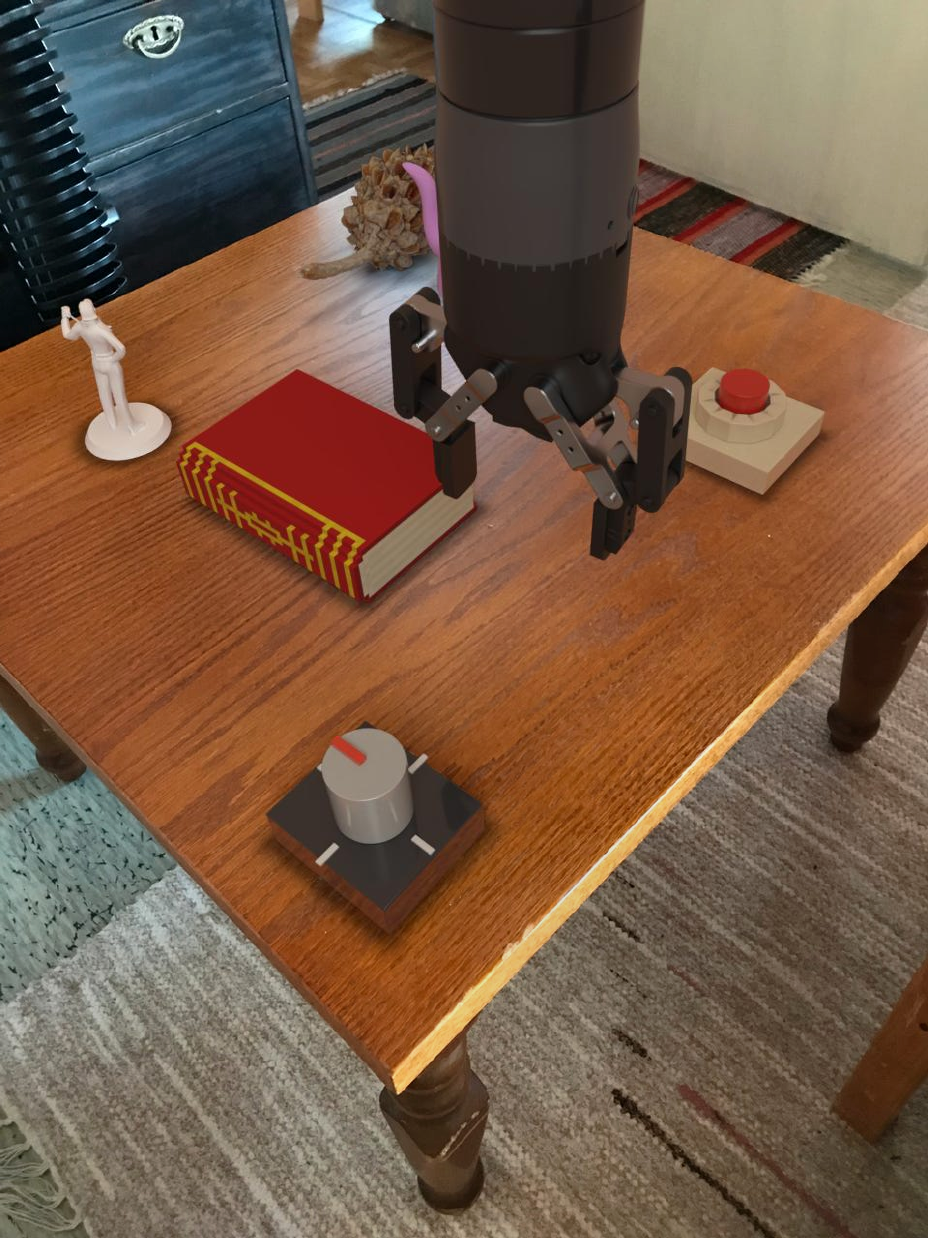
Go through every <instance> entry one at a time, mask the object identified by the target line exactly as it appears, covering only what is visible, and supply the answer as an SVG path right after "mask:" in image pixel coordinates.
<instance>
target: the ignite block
mask: <svg viewBox="0 0 928 1238" xmlns="http://www.w3.org/2000/svg"><path fill="white" fill-rule="evenodd" d="M725 373H727V372H726V371H724V370H721V369H719V368H716V367H715V366H712V367H710V368H709V369H708V370H707V371H706V372H704V373H703V374H702V375H701V376H700V377H698V379H697V380H696V381H694V382H693V383H692V394H691V405H690V416H689V428H688V439H687V450H686V461H685V462H689V463H691V464H693V465H694V466H697V467H699V468H701V469H703V470H706V471H708V472H710V473H712V474H715V475H717V476H719V477H722V478H724V479H726V480H728V481H731V482H733V483H735V484H736V485H740V486H741V487H744V488H746V489H748V490H751V491H752V492H755V493H757V494H759V495H762V496H763V495H764V494H765V493H766V492H767V491H768V490H769V489H770V488H771V487H772V485H774V483H775V482H776V481H777V480H778V479H779V478H781V476H782V475H783V474H784V473H785V472H786V470H787V469H788V468H789V467H790V466H791V465H792V464H794V462H795V460H797V459H798V457H800V455H801V454H802V453H803V452H804V451H805V450H806V449H807V448H808V447H809V446H810V445H811V443H812V442H813V441H814V440H815V439H816V438H817V437H818V436H819V435H820V432H821V428H822V425H823V421H824V418H825V415H826V411H824V410H822V409H819V408H817V407H814V406H812V405H810V404H806V403H805V402H802V401H799V400H796V399H794V398H792V397H789V396H787V395H786V392H785V391H784V390H783V389H782V388H781V387H780V386H779V385H778V384H777V383H776V382H775V381H773V380H772V379H769V378H768V380H769V382H770V389H769V393H768V397H767V402H766V406H765V408H764V409H763V410H762V411H761V412H759V413H755V414H752V415H744V414H734V413H732V412H729V411H727V410H725V409H722V408H721V407H720V405H719V403H718V394H719V388H720V383H721V378H722V377H723V375H724V374H725Z"/></svg>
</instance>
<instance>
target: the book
mask: <svg viewBox="0 0 928 1238" xmlns="http://www.w3.org/2000/svg"><path fill="white" fill-rule="evenodd" d="M181 447H182V451H180V452H179V453H178V456H179V459H177V460H176V461H175V464H176V466H177V470H178V473H179V476H180V479H181V481H182V484H183V487H184V490H185V493H186V495H187V496H189V497H190V498H193V499H194V500H195V501H197V502H199V503H200V504H202V505H203V506H205V507H207V508H209V510H212V511H213V512H215V513H216V514H218V515H220V516H222V517H223V518H224V519H226V520H227V521H229V522H231V523H233V524H234V525H235V526H237V527H239V528H240V529H242V530H243V531H245V532H246V533H248V534H250V535H252V536H253V537H255V538H256V539H258V540H260V541H261V542H263V543H265V544H266V545H268V546H270V547H271V548H273V549H275V550H276V551H278V552H279V553H281V554H282V555H284V556H286V557H287V558H289V559H291V560H292V561H294V562H295V563H297V564H298V565H301V566H302V567H304V568H305V569H306V570H308V571H310V572H311V573H314V574H315V575H316V576H317V577H320V578H321V579H323V580H324V581H326V582H327V583H329V584H331V585H332V586H334V587H335V588H337V589H339V590H340V591H342V592H344V593H345V594H347V595H348V596H350V597H351V598H354V599H355V600H356V601H358V602H361V601H363V602H364V603H365V602H369V603H371V602H372V601H373V600H375V599H376V598H377V597H378V596H379V595H381V594H382V593H383V592H384V591H385V590H386V589H387V588H389V587H390V586H391V585H392V584H393V583H395V581H397V580H398V579H399V578H400V577H401V576H402V575H404V573H406V572H407V571H409V569H411V567H413V566H414V565H415V564H416V563H417V562H418V561H420V560H421V559H422V558H423V557H424V556H425V555H426V554H427V553H429V552H430V551H432V549H434V548H435V547H436V545H438V544H439V543H440V542H442V540H443V539H445V538H446V537H447V536H448V535H450V533H451V532H453V531H454V530H455V529H456V528H457V527H459V526H460V525H461V524H462V523H463V522H464V521H465V520H466V519H467V518H469V517H470V516H471V515H472V514H473V513H475V512H476V511H477V510H478V503H476V502H474V491H473V484H472V485H471V486H470V487H469V488H468V489H467V490H466V491H465V492H464V494H463V495H462V496H461V497H460V498H459V499H453V498H451V497H449V496H446V495H444V494H443V487H442V483H440V482H439V481H438V479H437V476H436V474H435V464H434V453H433V441H432V438H431V437H430V436H429V435H428V434H427V432H426V431H424V430H422V429H420V428H419V427H416V426H414V425H412V424H410V423H408V422H406V421H404V420H402V419H399V418H398V417H397V416H394V415H392V414H390V413H388V412H385V411H383V410H382V409H380V408H378V407H376V406H373V405H372V404H370V403H367V402H366V401H363V400H362V399H360V398H357V397H355V396H353V395H351V394H349V393H347V392H345V391H343V390H341V389H339V388H337V387H335V386H333V385H331V384H329V383H328V382H325V381H323V380H321V379H319V378H317V377H315V376H313V375H311V374H309V373H307V372H305V371H303V370H301V369H299V368H296V369H295V370H293V371H291V372H290V373H288V374H287V375H286V376H284V377H283V378H280V379H279V380H278V381H276V382H275V383H274V384H272V385H270V386H269V387H267V388H266V389H264V390H263V391H261V392H260V393H259V394H257V395H255V396H253V397H252V398H251V399H249V400H248V401H246V402H245V403H243V404H242V405H240V406H239V407H238V408H236V409H234V410H233V411H231V412H230V413H228V414H227V415H226V416H224V417H222V418H220V420H218V421H217V422H215V423H214V424H212V425H210V426H209V427H207V428H206V429H205V430H202V431H201V432H200V433H199V434H197V435H195V436H194V437H193V438H191V439H190V440H188V441H186V442H185V443H183V444H182V445H181Z"/></svg>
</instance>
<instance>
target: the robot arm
mask: <svg viewBox="0 0 928 1238" xmlns="http://www.w3.org/2000/svg"><path fill="white" fill-rule="evenodd" d="M430 4H431V21H432V37H433V38H432V39H433V56H434V70H435V71H434V72H435V85H436V86H435V87H436V88H435V95H436V97H435V98H436V100H435V101H436V102H435V120H434V132H433V146H434V170H435V185H436V200H437V215H438V233H439V248H440V263H441V279H442V294H443V299H441V296H440V294H439V293H438V292H437V291H436V290H435V289H434V288H433V287H430V286H422V288H420V289H419V290H417V292H415V293H414V294H413V295H412V296H411V297H409V298H408V299H407V300H405V301H404V302H403V303H402V304H401V305H400V306H399V307H397V308H396V309H395V310H393V311H392V312H391V313H390V314H389V316H388V327H389V330H388V331H389V346H390V357H391V358H390V360H391V361H390V362H391V378H392V381H391V382H392V395H393V397H392V399H393V407H394V410H395V412H396V413H397V415H399V416H400V417H401V418H402V419H404V420H412V419H413V418H416V420H418V421H420V422H422V423H423V424H424V429H425V432H426V433H427V434H428V435H429V436H430V437H431V438H432V441H433V453H434V464H435V474H436V476H437V479H438V481H439V482H440V483H442V487H443V494H444V495H446V496H449V497H451V498H453V499H459V498H460V497H461V496H462V495H463V494H464V492H465V491H466V490H467V489H468V488H469V487H470V486H471V485H472V486H473V484H474V483H475V481H476V479H477V477H478V461H477V459H478V458H477V438H476V437H477V435H476V421H473V420H470V419H468V418H469V417H471V415H472V414H473V413H474V412H475V411H476V410H477V409H478V408H479V407H480V406H481V408H483V410H485V411H486V412H487V413H488V414H489V415H490V416H491V421H492V422H493V423H496V424H498V425H502V426H504V427H507V428H516V429H521V430H523V431H525V432H527V434H529V435H531V436H533V437H535V438H536V439H539V440H541V441H544V442H547V443H550V444H551V443H555V445H556V448H558V450H559V451H560V453H561V455H562V457H563V458H564V460H565V462H566V463H567V465H568V466H569V468H570V469H571V470H572V471H573V472H581V473H582V474H583V476H584V477H585V478H586V481H587V482H588V484H589V485H590V487H591V489H592V490H593V492H594V494H595V496H597V498H596V499H595V500H594V502H593V505H592V506H593V508H592V520H591V532H590V533H591V534H590V547H589V555H590V556H591V557H593V558H595V559H599V560H600V561H603V562H605V561H606V560H607V559H608V557H609V556H610V555H611V554H612V555H617V554H618V553H619V552H620V550H621V549H622V547H623V546H624V545H625V543H627V541H628V540H629V538H630V537H631V536H632V535H633V533H634V532H635V526H636V523H635V522H636V518H637V508H638V507H639V508H640V510H642V511H644V512H646V513H648V514H656V513H657V512H659V511H660V510H661V508H662V507H663V505H664V504H665V502H666V500H667V499H668V498H669V496H670V495H671V493H672V492H673V491H674V489H675V488H676V487H677V486H678V485H680V483H681V482H682V480H683V479H684V477H685V470H686V462H687V461H686V450H687V439H688V428H689V416H690V405H691V394H692V385H693V378H692V375H691V374H690V372H689V371H687V369H685V368H683V367H681V366H672V367H670V368H668V369H667V371H666V372H665V373H664V374H663V375H657V374H653V373H650V372H646V371H642V370H638V369H635V368H630V367H629V364H628V362H627V359H626V356H625V354H624V351H623V348H622V343H621V340H622V339H621V338H622V333H623V327H624V323H625V317H626V312H627V300H628V299H627V298H628V289H629V279H630V265H631V256H632V245H633V235H634V225H635V215H636V213H637V210H638V205H639V200H640V199H639V198H640V187H639V183H638V178H639V176H638V175H639V168H640V158H641V157H640V156H641V155H640V154H641V125H640V106H639V105H640V102H639V101H640V99H639V92H640V77H641V67H642V53H643V43H644V31H645V22H646V21H645V19H646V8H647V7H646V6H647V0H431V2H430ZM442 305H443V306H442ZM442 344H444V346H445V349H446V351H447V353H448V354H449V356H450V357H451V359H452V360H453V362H454V364H455V365H456V367H457V368H458V370H459V372H460V374H461V375H462V377H463V378H464V380H465V382H463V384H461V385H460V387H459V388H458V389H457V390H456V391H455V392H453V394H452V395H451V394H449V393H448V392H446V391H445V390H443V389H442V388H443V374H442V372H443V369H442V368H443V367H442V364H443V363H442ZM616 398H617V399H620V400H621V401H622V402H623V403H624V404H625V405H626V407H627V410H628V412H629V414H628V415H629V418H630V420H629V422H628V419H627V417H626V415H625V414H624V412H623V411H622V409H621V406H620V405H619V403H618V401H617V399H616ZM592 418H593V422H594V428H593V430H592V432H591V433H590V434H589V435H588V436H587V437H586V436H585V435H584V433H583V431H582V430H581V428H582V427H583V426H584V425H586V424H587V423H588V422H589V421H590V420H591V419H592ZM629 427H630V429H632V430H634V431H637V449H636V448H635V445H634V444H633V442H632V441H631V439H630V438H629ZM608 458H609V459H608ZM609 460H610V462H611V463H612V465H613V467H614V469H613V468H612V466H611V464H610V462H609Z"/></svg>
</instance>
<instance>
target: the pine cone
mask: <svg viewBox="0 0 928 1238" xmlns="http://www.w3.org/2000/svg"><path fill="white" fill-rule="evenodd" d="M422 144H423V145H422V146H419V147H417V149H415V150H413V152H412V151H411V147H410V145H409V143H408V144H406V147H405V150H403V151H402V149H401V147H398V148H397V149H396V150H395V151H393V150H392V149H390V148H386V149H384V150H383V151H382V157H381V158H379V157H377V156H374V155H372V156H371V158H370V161H369V162H368V163H362V164H361V180H359V181H357V182H355V183H354V190H355V192H356V195H350V200H351V203H352V204H351V205H348V206H345V207H343V215H342V217H341V219H340V222H341V224H342V225H343V227H345V228H346V230H347V232H348V233H349V236H347V237H346V241H347V242H348V244H350V245H352V246H354V249H353V251H356V252H354V253H352V254H350V255H348V256H346V257H342V258H340V259H337V260H333V261H328V262H324V263H323V262H311V263H310V264H308V263H304V262H302V263H301V264H300V265H298V266H297V267H296V268H295V269H293V270H292V272H295V271H299V270H300V271H299V273H298V275H297V277H298V278H301V279H305V280H309V281H318V280H326V279H328V278H334V277H337V276H339V275H342V274H343V273H344V274H345V273H347V272H350V271H353V270H354V269H357V268H359V267H361V266H364V265H365V264H367V263H371V265H372V266H373V268H375V270H377V269H379V270H381V271H383V272H384V271H385V270H387V267H388V266H391V267H393V268H395V269H396V270H398V271H401V272H402V271H403V270H404V268H409V267H411V266H412V264H413V258H412V256H420V255H426V254H427V253H428V250H429V249H431V248H430V246H429V244H428V241H427V239H426V235H425V231H424V223H423V209H422V201H421V195H420V192H419V189H418V187H417V185H416V183H415V181H414V179H413V178H412V177H411V176H410V175H409V173H408V172H407V171H406V170H405V169H404V168H403V165H402V164H403V163H406V162H407V163H412V164H415V165H418V166H420V167H422V168H423V169H425V170H426V171H427V172H428V173H429V174H430V175H431V176H432V178H433V179H434V181H435V170H434V145H431V146H430V147H429V148H428V147H427V144H426V142H425V141H424V142H423V143H422Z"/></svg>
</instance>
